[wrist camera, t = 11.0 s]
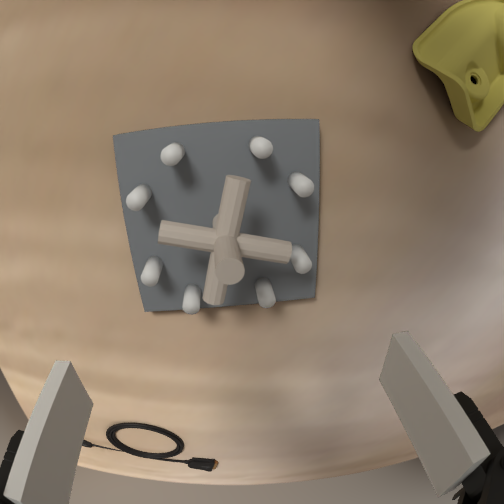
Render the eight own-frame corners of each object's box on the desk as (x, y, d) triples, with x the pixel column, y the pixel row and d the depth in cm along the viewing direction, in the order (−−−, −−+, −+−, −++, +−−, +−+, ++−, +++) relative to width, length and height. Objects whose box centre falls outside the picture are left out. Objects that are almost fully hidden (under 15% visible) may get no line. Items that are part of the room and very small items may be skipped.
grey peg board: (117, 134, 26) (101, 138, 21) (314, 119, 27) (330, 120, 23) (147, 303, 33) (139, 329, 29) (311, 290, 34) (322, 313, 30)
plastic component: (475, 139, 27) (459, 76, 20) (430, 111, 31) (403, 52, 24) (538, 53, 20) (528, -7, 13) (497, 33, 25) (479, -23, 18)
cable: (60, 398, 40) (58, 405, 38) (229, 432, 45) (230, 439, 44) (71, 438, 45) (70, 444, 43) (214, 465, 50) (214, 472, 49)
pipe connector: (161, 263, 29) (143, 325, 20) (177, 158, 26) (159, 177, 17) (262, 279, 31) (285, 342, 22) (288, 180, 28) (328, 209, 19)
